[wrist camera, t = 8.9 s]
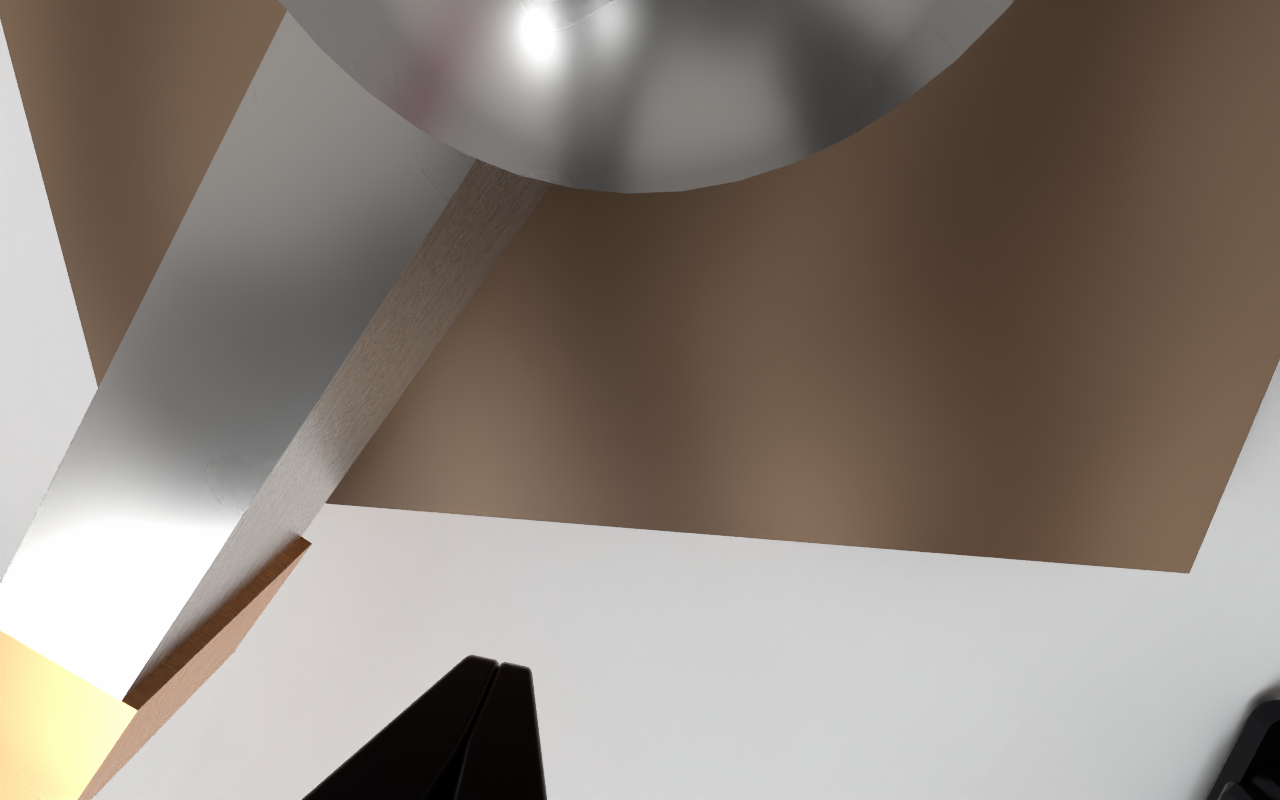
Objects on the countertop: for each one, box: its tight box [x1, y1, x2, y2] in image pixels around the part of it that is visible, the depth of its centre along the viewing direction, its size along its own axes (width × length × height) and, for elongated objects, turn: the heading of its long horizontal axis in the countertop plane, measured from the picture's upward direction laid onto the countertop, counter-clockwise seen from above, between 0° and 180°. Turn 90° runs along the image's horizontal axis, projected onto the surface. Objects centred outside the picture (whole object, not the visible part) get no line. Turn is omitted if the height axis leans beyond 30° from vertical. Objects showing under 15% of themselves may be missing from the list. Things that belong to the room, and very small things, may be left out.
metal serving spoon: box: [0, 0, 1014, 800], centre depth 6 cm, size 16×6×4 cm, turn 141°
